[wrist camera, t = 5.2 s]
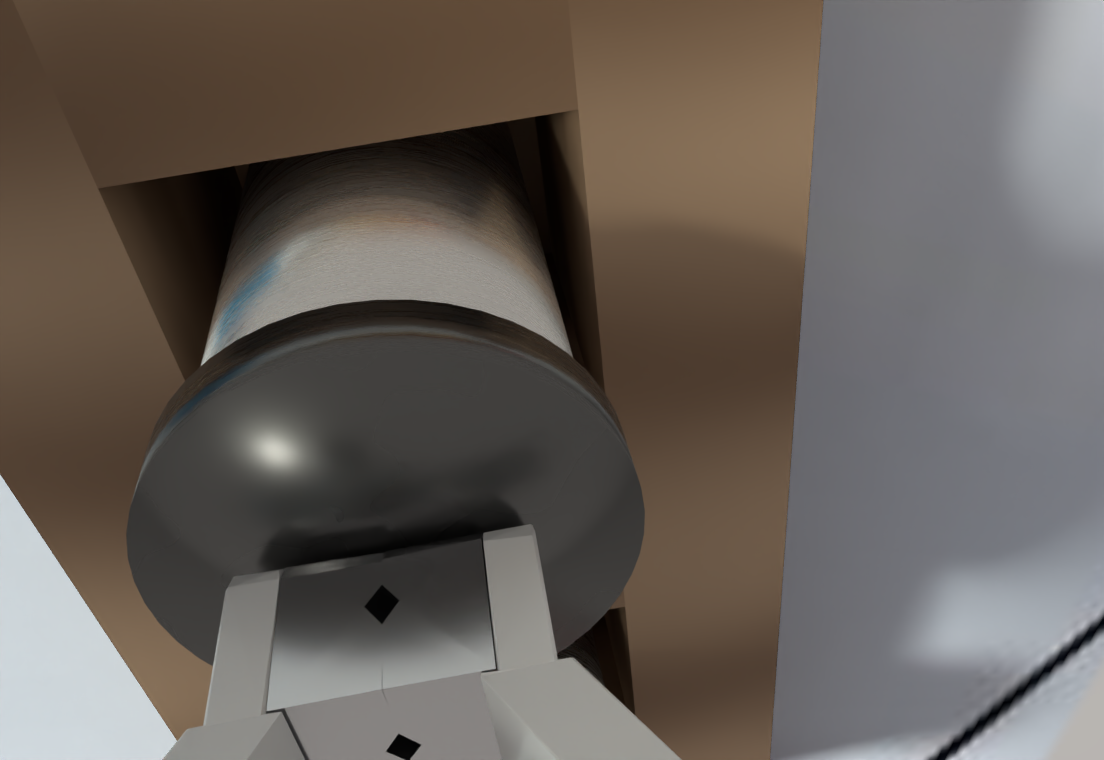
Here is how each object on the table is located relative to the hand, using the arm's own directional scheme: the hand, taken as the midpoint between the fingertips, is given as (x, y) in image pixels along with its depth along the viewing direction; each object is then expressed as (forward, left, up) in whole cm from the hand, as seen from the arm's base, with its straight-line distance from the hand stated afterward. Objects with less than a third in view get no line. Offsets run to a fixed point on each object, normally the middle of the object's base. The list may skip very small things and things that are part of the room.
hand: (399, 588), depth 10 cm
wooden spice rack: (+9, 0, -11) cm, 14 cm away
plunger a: (0, 0, -9) cm, 9 cm away
